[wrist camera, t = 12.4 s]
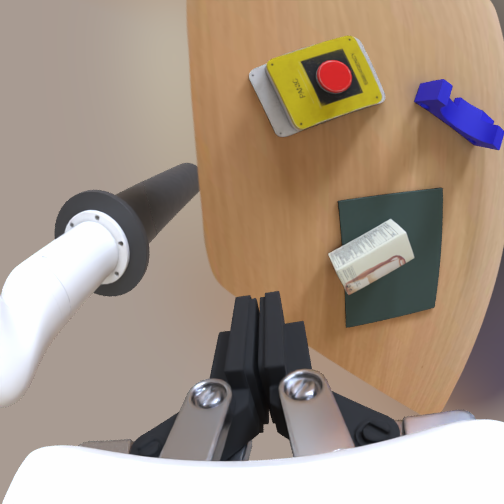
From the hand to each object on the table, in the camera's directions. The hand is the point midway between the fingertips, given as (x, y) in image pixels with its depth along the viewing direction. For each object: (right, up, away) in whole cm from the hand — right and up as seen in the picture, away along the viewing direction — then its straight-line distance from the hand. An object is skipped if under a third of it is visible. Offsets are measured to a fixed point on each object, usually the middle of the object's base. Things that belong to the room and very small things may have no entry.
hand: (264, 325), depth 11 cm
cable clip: (+27, +22, +19) cm, 40 cm away
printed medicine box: (+10, 0, +26) cm, 28 cm away
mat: (+20, +2, +28) cm, 35 cm away
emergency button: (+8, +23, +20) cm, 31 cm away
